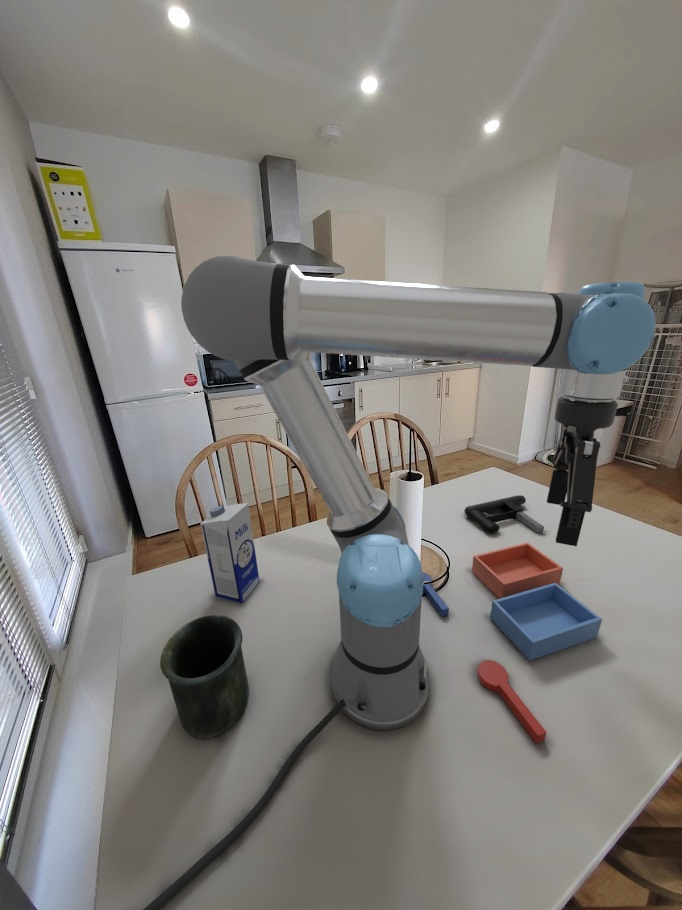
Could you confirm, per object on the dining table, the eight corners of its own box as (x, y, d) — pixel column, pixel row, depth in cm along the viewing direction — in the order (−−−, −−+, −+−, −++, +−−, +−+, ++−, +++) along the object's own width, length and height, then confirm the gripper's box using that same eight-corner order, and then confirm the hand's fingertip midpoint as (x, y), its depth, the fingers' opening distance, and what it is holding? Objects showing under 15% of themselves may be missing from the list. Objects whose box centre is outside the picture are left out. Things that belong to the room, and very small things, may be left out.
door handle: (562, 519, 94) (516, 491, 108) (500, 535, 88) (460, 503, 102) (559, 530, 95) (514, 500, 109) (498, 546, 89) (459, 513, 103)
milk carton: (242, 604, 73) (227, 519, 66) (214, 597, 75) (197, 514, 68) (260, 581, 79) (248, 502, 72) (234, 575, 81) (220, 498, 74)
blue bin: (529, 661, 59) (532, 642, 57) (489, 617, 67) (492, 600, 66) (597, 637, 63) (602, 619, 61) (551, 598, 71) (555, 582, 70)
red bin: (501, 600, 71) (504, 584, 70) (471, 570, 80) (473, 555, 78) (559, 584, 75) (563, 568, 74) (525, 557, 84) (527, 542, 82)
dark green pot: (172, 757, 48) (152, 694, 43) (183, 664, 61) (169, 609, 56) (255, 729, 50) (244, 668, 46) (248, 646, 64) (239, 592, 59)
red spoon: (553, 736, 48) (555, 728, 48) (527, 747, 47) (528, 739, 46) (494, 662, 59) (495, 655, 58) (471, 670, 58) (472, 662, 57)
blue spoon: (455, 612, 69) (455, 606, 68) (435, 618, 68) (435, 612, 67) (424, 574, 79) (424, 568, 79) (406, 579, 78) (406, 573, 78)
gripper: (647, 420, 41) (603, 571, 48) (598, 384, 62) (573, 493, 70) (572, 415, 44) (541, 559, 51) (549, 383, 65) (530, 487, 73)
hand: (559, 521), depth 60 cm, fingers open, 13 cm apart
